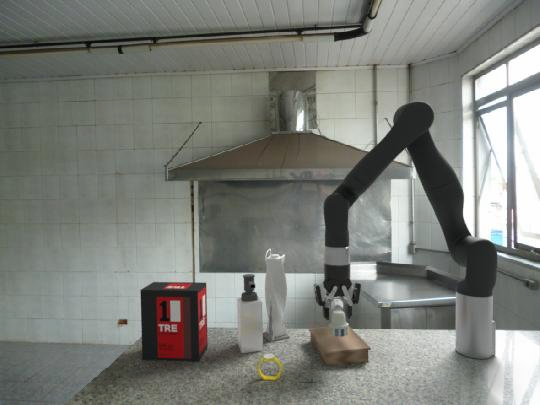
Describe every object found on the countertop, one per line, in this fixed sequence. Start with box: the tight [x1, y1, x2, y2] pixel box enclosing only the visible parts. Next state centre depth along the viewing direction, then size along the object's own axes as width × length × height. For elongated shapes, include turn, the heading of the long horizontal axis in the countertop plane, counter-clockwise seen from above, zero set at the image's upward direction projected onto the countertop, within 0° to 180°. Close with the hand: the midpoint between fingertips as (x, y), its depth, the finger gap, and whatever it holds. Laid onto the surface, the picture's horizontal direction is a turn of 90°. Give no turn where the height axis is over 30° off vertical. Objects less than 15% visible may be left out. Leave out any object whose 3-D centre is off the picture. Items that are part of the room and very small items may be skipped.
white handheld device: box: [328, 296, 350, 337], centre depth 106 cm, size 5×7×25 cm
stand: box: [308, 326, 372, 366], centre depth 107 cm, size 13×17×4 cm
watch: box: [257, 353, 283, 381], centre depth 92 cm, size 6×3×6 cm, turn 84°
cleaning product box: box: [139, 281, 209, 363], centre depth 106 cm, size 16×9×20 cm, turn 84°
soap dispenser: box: [236, 273, 264, 354], centre depth 109 cm, size 6×9×22 cm
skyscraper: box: [263, 248, 291, 343], centre depth 119 cm, size 8×8×28 cm
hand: (337, 318), depth 106 cm, fingers closed on white handheld device, 5 cm apart
